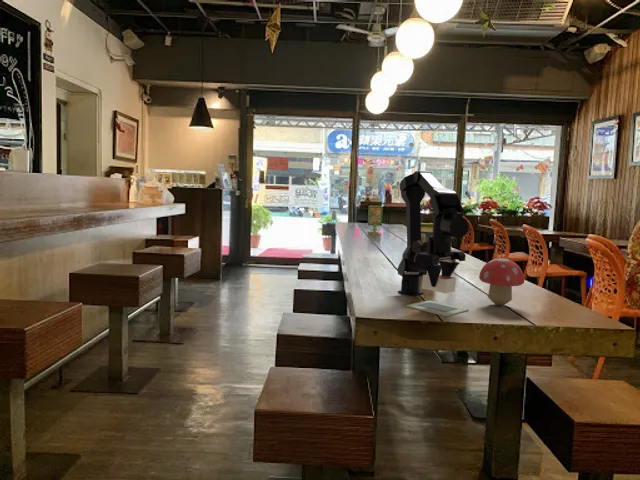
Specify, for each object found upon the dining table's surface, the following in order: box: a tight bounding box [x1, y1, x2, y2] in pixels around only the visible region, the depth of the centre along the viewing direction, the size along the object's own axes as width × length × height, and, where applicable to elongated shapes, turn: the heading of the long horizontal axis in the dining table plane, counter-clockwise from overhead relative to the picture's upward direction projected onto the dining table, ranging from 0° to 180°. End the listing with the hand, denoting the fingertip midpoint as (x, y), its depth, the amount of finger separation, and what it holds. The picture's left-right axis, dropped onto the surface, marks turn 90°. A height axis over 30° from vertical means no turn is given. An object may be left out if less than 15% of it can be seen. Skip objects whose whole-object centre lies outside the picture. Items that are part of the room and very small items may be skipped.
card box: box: [421, 273, 457, 294], centre depth 149 cm, size 8×5×4 cm, turn 44°
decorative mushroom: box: [478, 257, 525, 306], centre depth 157 cm, size 13×13×15 cm
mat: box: [406, 300, 470, 317], centre depth 149 cm, size 12×14×1 cm
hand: (438, 285), depth 149 cm, fingers closed on card box, 5 cm apart
